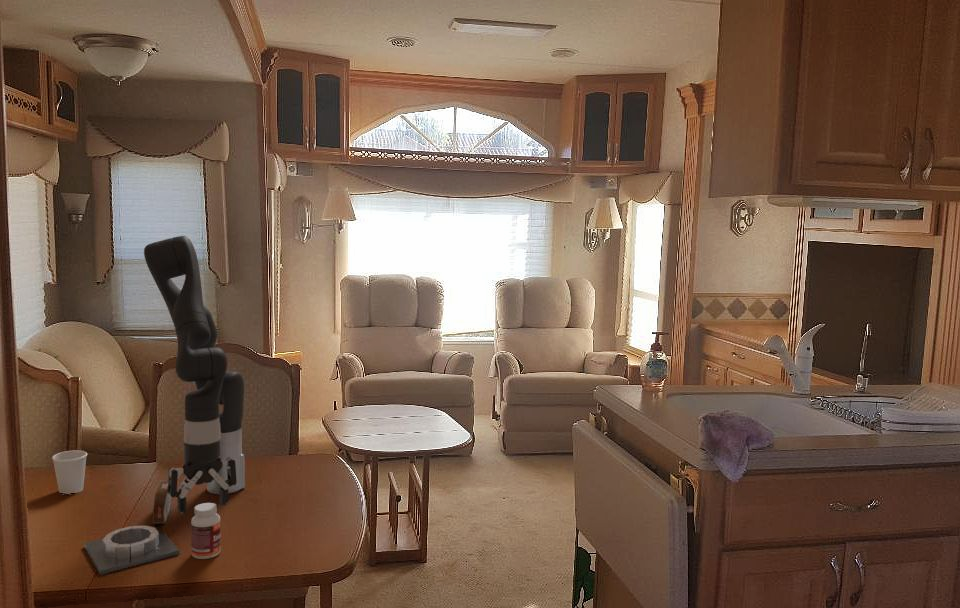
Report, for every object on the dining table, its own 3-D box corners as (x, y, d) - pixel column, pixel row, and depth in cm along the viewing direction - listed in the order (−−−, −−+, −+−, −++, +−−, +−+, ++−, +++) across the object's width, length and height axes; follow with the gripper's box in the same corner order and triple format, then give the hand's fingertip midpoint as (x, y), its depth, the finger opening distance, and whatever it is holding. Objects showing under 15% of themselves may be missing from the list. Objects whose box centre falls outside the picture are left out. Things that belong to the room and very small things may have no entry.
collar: (158, 529, 174) (158, 515, 174) (179, 554, 162) (178, 539, 161) (84, 547, 164) (83, 532, 164) (100, 575, 152) (99, 559, 151)
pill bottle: (219, 559, 160) (218, 511, 159) (189, 561, 159) (188, 513, 158) (222, 546, 166) (221, 500, 165) (193, 548, 165) (193, 502, 164)
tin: (161, 506, 188) (160, 475, 187) (174, 505, 189) (173, 474, 188) (151, 530, 174) (150, 496, 173) (166, 529, 175) (165, 495, 174)
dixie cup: (90, 492, 196) (89, 456, 194) (54, 498, 191) (53, 462, 190) (86, 483, 202) (85, 448, 201) (52, 488, 198) (50, 453, 197)
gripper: (228, 429, 167) (229, 497, 168) (163, 438, 158) (164, 510, 160) (240, 437, 161) (240, 507, 163) (173, 447, 152) (174, 521, 154)
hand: (203, 508), depth 161 cm, fingers open, 8 cm apart
